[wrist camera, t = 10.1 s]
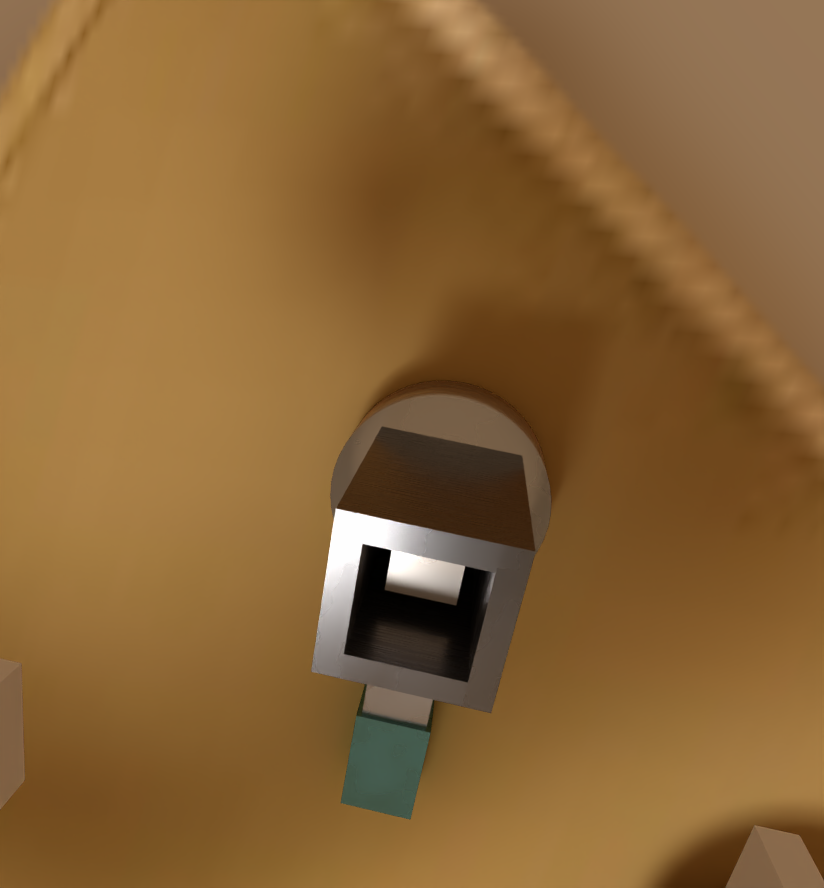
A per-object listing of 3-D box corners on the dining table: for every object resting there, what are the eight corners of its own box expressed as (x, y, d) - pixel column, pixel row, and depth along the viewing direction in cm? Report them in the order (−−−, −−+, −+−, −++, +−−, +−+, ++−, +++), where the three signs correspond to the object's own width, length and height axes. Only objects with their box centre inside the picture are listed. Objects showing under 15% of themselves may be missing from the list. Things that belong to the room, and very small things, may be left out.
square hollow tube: (381, 426, 22) (335, 508, 16) (522, 455, 22) (535, 551, 15) (360, 550, 24) (311, 671, 17) (491, 578, 24) (491, 713, 17)
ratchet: (302, 752, 31) (251, 895, 24) (360, 362, 24) (311, 411, 18) (465, 790, 30) (457, 946, 24) (568, 403, 24) (597, 469, 17)
